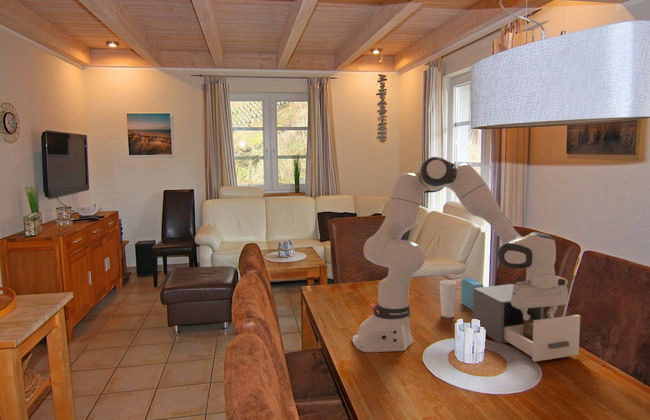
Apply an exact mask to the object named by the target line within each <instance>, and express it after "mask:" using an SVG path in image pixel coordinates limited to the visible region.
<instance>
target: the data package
mask: <svg viewBox="0 0 650 420" xmlns="http://www.w3.org/2000/svg"><path fill="white" fill-rule="evenodd" d="M460 286H461V288H460V289H461V291H460V296H461V298H460V299H461V301H460V302H461V303H462V305H463V306H465V307H466V308H468V309H469V310H471V311H472V312H473V294H474V288H480V287H485V286H484V284H483V283H481V282H480V281H478V280H476V279H474V278H472V277H471V278H462V279H461V285H460Z"/></svg>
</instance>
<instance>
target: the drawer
mask: <svg viewBox="0 0 650 420" xmlns="http://www.w3.org/2000/svg"><path fill="white" fill-rule="evenodd" d="M580 330H581V315H580V314H573V315H566V316H565V315H564V316H557V317H554V318H548V317H547V318H543V319H541V320H534V322H533V342H532V341H530V340H529V339H527V338H525V337H523V324H522V325H514V326H506V327H504V340H506V341H507V342H509V343H508V344H511V345H512V346H514V347H515V348H517V349H518V350H521V351H522V352H523V353H525V354H526V355H528V356H530V357H531V360H532V362H541V361H547V360H553V359H559V358H566V357H572V356H573V357H574V356H579V353H580Z"/></svg>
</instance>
